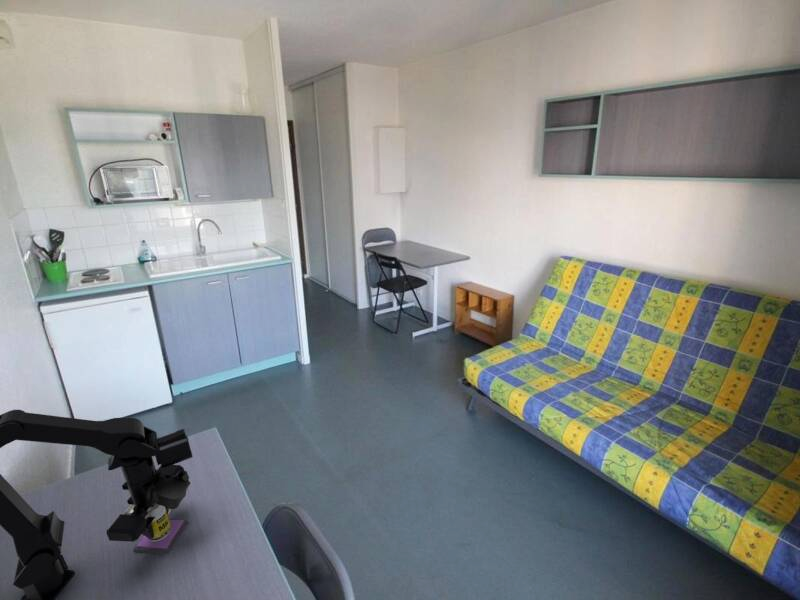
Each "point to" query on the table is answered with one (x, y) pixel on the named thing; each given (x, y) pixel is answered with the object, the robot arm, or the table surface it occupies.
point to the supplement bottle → (159, 522)
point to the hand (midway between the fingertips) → (158, 527)
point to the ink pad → (165, 543)
